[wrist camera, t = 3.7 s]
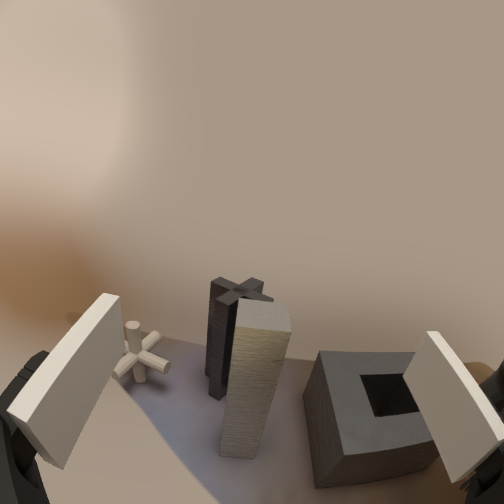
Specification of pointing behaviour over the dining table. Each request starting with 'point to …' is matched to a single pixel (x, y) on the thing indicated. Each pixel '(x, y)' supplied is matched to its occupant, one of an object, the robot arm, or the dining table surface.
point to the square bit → (253, 374)
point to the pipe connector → (139, 354)
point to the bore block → (364, 419)
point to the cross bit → (225, 328)
